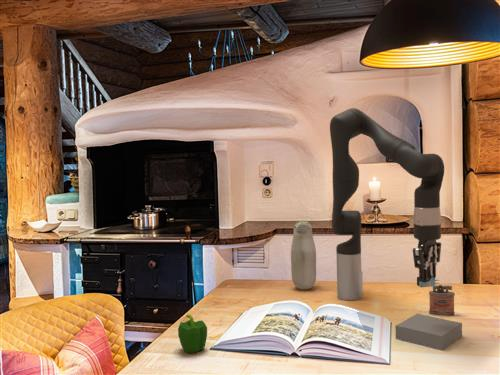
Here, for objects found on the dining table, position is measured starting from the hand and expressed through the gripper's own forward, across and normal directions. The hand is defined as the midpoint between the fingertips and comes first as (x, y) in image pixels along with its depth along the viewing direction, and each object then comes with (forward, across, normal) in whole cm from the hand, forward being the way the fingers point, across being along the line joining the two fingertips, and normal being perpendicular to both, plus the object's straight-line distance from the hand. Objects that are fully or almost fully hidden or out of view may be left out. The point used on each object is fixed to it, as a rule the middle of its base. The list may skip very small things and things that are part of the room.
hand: (427, 279), depth 149 cm
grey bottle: (+18, -20, -62) cm, 67 cm away
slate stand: (+17, 0, 0) cm, 17 cm away
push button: (+2, 0, 0) cm, 2 cm away
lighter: (+18, -23, -6) cm, 30 cm away
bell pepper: (+18, +51, -47) cm, 71 cm away
